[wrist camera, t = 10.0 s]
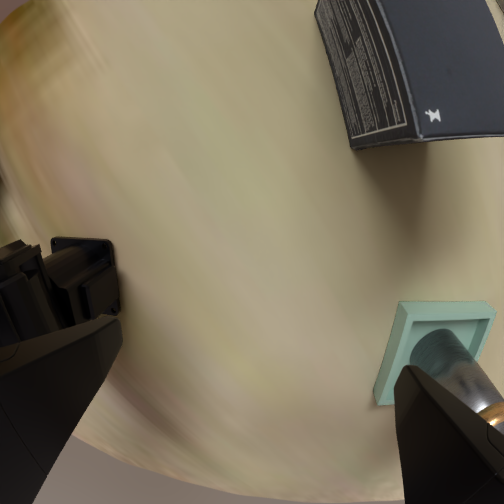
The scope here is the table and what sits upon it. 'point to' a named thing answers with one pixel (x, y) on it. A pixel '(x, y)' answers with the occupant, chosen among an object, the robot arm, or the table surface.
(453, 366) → the lidded jar
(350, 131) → the small box
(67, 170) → the table surface
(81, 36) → the table surface
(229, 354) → the table surface
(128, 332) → the table surface
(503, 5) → the webcam
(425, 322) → the tray
